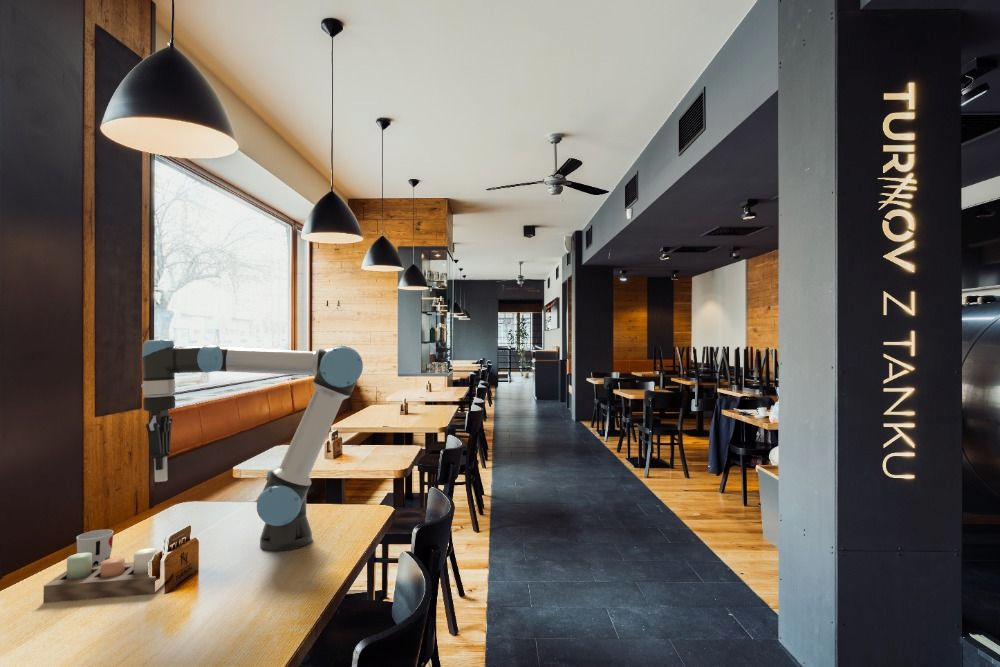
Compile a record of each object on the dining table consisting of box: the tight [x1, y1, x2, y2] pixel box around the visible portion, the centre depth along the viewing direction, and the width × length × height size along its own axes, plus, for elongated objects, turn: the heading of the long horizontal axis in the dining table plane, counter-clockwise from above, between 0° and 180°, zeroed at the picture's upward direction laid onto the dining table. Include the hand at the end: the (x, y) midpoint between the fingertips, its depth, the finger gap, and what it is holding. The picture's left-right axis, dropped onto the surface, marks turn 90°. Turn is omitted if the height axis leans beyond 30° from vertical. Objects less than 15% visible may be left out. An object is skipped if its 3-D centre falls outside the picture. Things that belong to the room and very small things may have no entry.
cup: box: [76, 529, 114, 565], centre depth 149 cm, size 8×8×10 cm
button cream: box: [133, 547, 158, 575], centre depth 140 cm, size 5×5×5 cm
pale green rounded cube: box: [66, 552, 92, 580], centre depth 137 cm, size 5×5×5 cm
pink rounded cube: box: [100, 556, 126, 577], centre depth 138 cm, size 5×5×5 cm
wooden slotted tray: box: [42, 561, 156, 604], centre depth 138 cm, size 24×12×4 cm, turn 101°
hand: (161, 480), depth 151 cm, fingers closed
